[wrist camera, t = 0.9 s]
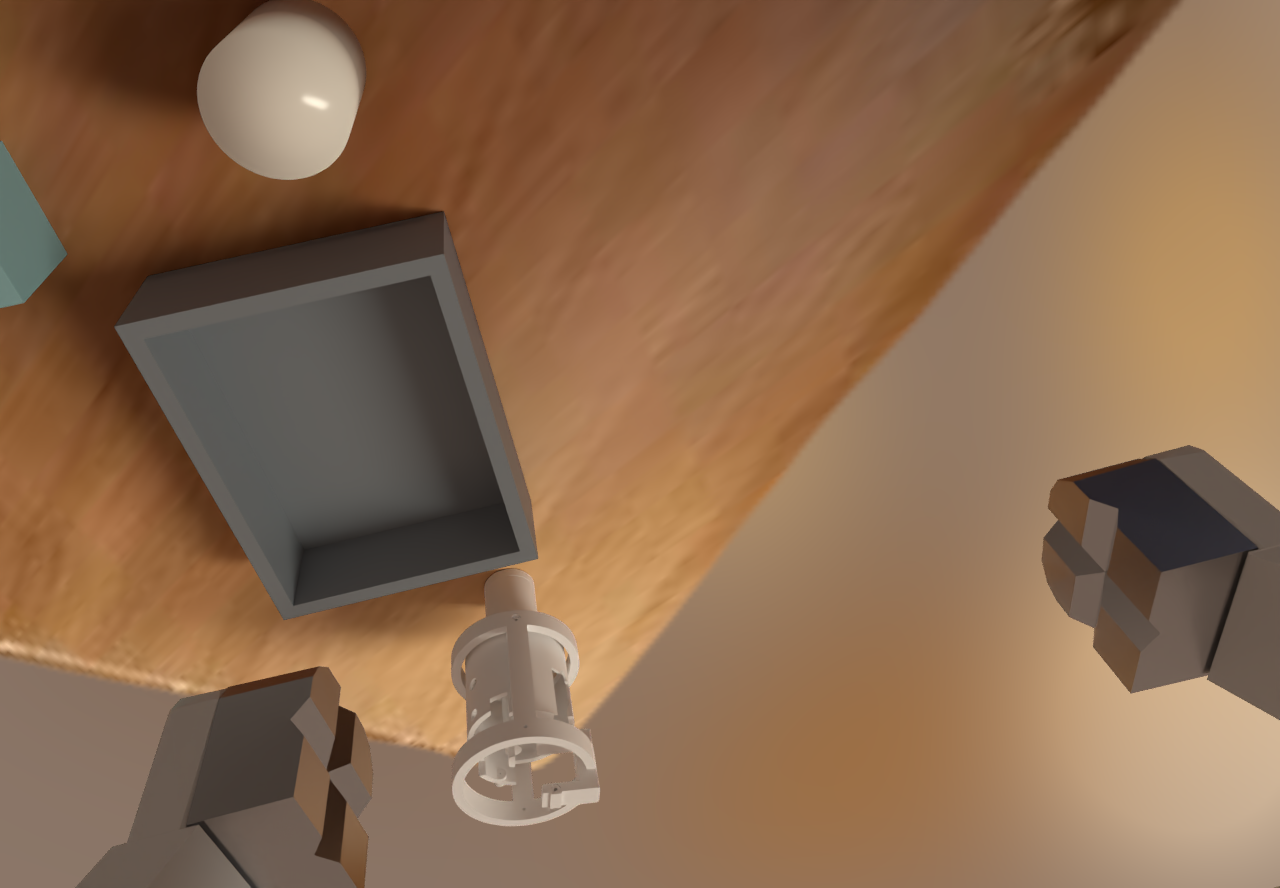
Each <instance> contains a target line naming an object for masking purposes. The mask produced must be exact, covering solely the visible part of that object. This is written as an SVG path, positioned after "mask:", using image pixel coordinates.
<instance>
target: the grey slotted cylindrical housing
mask: <svg viewBox="0 0 1280 888" xmlns="http://www.w3.org/2000/svg"><path fill="white" fill-rule="evenodd" d="M484 595H485V610H486V617H485V618H483V619H481V620H479V621H477V622H476V623H474V624H473V625H471V626H470V627H469V628H467V629H466V630H465V631H464V632H463V633H462V634H461V635H460V637H459V638H458V640H457V641H456V643H455V645H454V647H453V650H452V656H451V675H452V681H453V684H454V687H455V689H456V690H457V692H458V693H459V694H460V695H461V696H462V697H463V698H464V699H465V700H466V712H467V742H466V743H465V744H464V745H463V746H462V747H461V748H460V750H459V751H458V753H457V754H456V756H455V758H454V761H453V765H452V792H453V797H454V800H455V802H456V804H457V805H458V806H459V808H460V809H461V810H462V811H463V812H464V813H466V814H467V815H469V816H470V817H472V818H474V819H476V820H479V821H482V822H485V823H489V824H494V825H501V826H523V825H531V824H535V823H540V822H544V821H547V820H550V819H553V818H556V817H558V816H561V815H563V814H565V813H567V812H568V811H570V810H572V809H573V808H575V807H576V806H577V805H579V804H585V803H594V802H598V801H599V794H600V787H599V781H598V775H597V768H596V761H595V755H594V749H593V743H592V737H591V731H590V729H578V728H576V727H574V716H573V709H572V702H571V695H570V688H569V687H570V686H571V684H572V683H573V682H574V680H575V678H576V676H577V673H578V670H579V655H578V649H577V643H576V639H575V637H574V635H573V633H572V631H571V630H570V629H569V628H568V626H567V625H565V624H564V623H563V622H562V621H560V620H559V619H557V618H555V617H553V616H551V615H548V614H545V613H541V612H537V606H536V598H535V587H534V581H533V579H532V577H531V576H530V575H529V574H527V573H526V572H524V571H522V570H518V569H505V570H501V571H498V572H496V573H494V574H493V575H491V576H490V577H489V578H488V579H487V581H486V583H485V586H484ZM563 646H564V647H565V649H566V650H567V652H568V657H567V660H565V653H564V647H563ZM464 659H465V670H466V674H465V672H464V671H463V669H462V663H463V661H464ZM568 752H573V759H574V766H575V773H576V777H575V778H574V780H572V781H571V782H561V783H551V784H542V790H541V797H540V798H537V799H534V794H533V784H532V773H531V762H533V761H537V760H540V759H542V758H545V757H547V756H549V755H551V754H558V753H568ZM476 763H478V767H479V776H480V777H481V778H483V779H485V780H488V781H490V782H493V783H494V784H495V786H497V787H502V786H504V785H511V787H512V801H501V800H495V799H491V798H487V797H485V796H483V795H480V794H478V793H477V792H475V791H474V790H473V789H472V788H470V787H469V786H468V784H467V783H466V781H465V777H466V775H467V773H468V772H469V771H470V769H471V768H472V767H473V766H474V765H475V764H476Z"/></svg>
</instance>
